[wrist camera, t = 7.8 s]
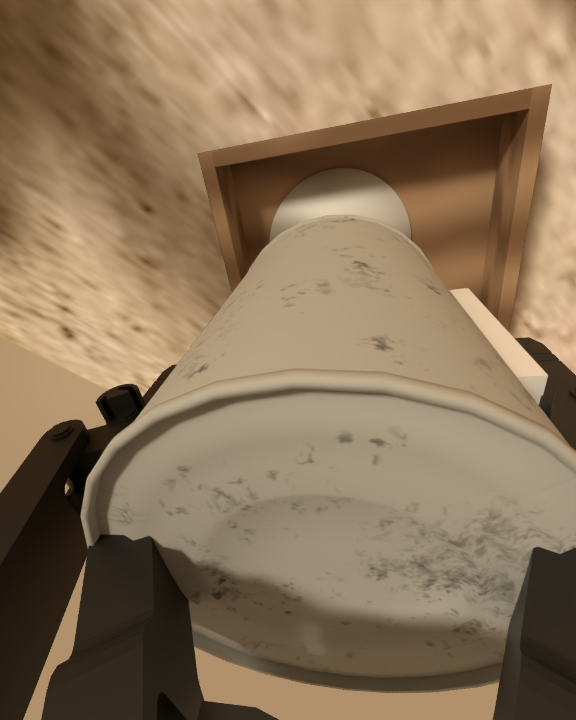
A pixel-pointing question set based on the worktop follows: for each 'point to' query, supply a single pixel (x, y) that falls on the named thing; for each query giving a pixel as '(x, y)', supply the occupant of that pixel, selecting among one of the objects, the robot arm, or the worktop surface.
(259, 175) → the box
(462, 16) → the worktop surface
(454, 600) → the grey speckled cylinder
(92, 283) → the worktop surface
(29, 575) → the robot arm
